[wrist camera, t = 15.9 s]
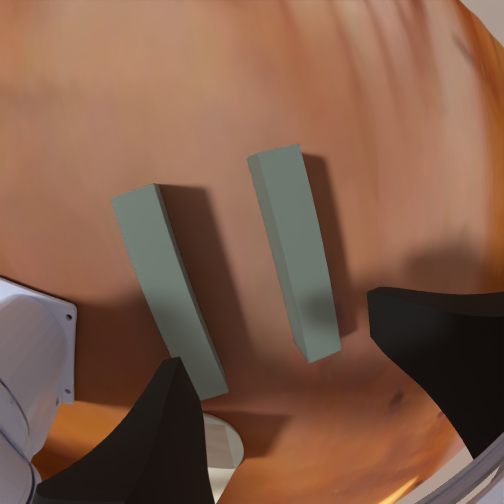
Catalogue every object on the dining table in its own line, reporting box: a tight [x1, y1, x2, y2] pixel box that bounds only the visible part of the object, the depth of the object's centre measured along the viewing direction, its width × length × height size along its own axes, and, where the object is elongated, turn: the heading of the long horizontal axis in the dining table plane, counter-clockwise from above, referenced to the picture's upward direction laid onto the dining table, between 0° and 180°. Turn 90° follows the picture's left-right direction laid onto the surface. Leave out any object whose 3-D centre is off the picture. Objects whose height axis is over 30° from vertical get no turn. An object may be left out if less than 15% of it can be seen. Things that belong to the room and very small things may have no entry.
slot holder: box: [111, 144, 341, 401], centre depth 19 cm, size 14×11×3 cm
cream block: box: [204, 423, 235, 504], centre depth 19 cm, size 6×5×5 cm
